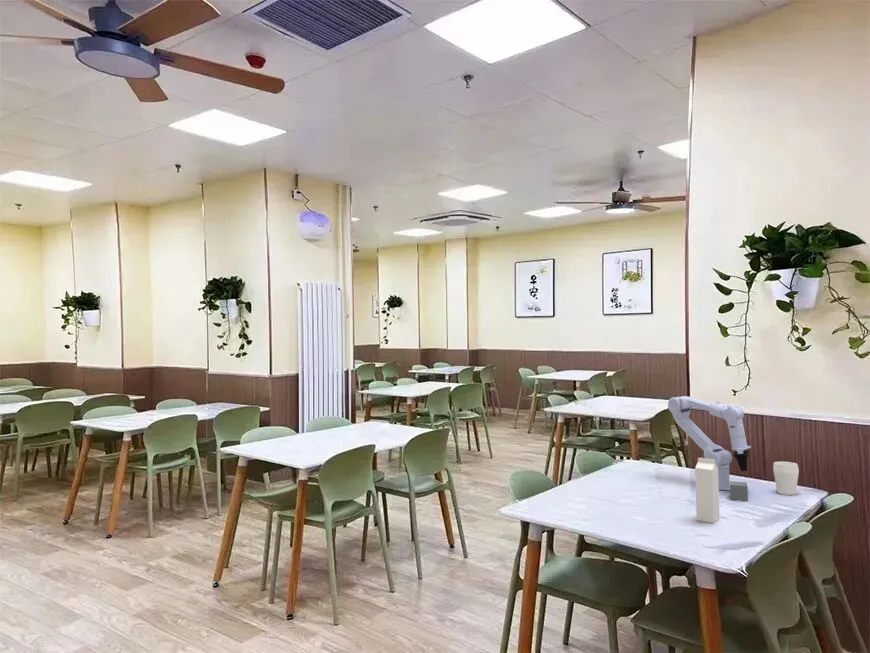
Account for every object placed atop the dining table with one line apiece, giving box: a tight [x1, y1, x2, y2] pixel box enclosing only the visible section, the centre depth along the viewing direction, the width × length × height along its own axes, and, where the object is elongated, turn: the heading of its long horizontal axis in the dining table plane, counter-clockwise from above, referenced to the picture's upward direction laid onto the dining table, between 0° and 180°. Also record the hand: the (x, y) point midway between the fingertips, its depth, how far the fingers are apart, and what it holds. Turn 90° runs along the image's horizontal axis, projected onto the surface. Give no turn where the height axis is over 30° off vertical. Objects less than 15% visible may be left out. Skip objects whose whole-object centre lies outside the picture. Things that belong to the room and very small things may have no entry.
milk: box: [694, 457, 720, 524], centre depth 217 cm, size 6×6×22 cm
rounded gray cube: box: [729, 480, 749, 502], centre depth 241 cm, size 6×6×6 cm
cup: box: [772, 460, 800, 496], centre depth 248 cm, size 9×9×12 cm
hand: (744, 469), depth 249 cm, fingers open, 7 cm apart
